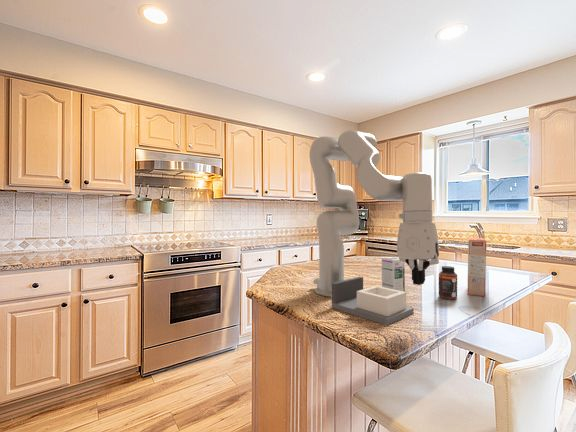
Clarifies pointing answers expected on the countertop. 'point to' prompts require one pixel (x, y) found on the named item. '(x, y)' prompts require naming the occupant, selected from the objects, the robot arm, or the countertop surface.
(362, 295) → the socket block
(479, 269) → the cracker box
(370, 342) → the countertop surface
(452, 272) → the supplement bottle
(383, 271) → the syrup box
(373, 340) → the countertop surface
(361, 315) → the slide base
